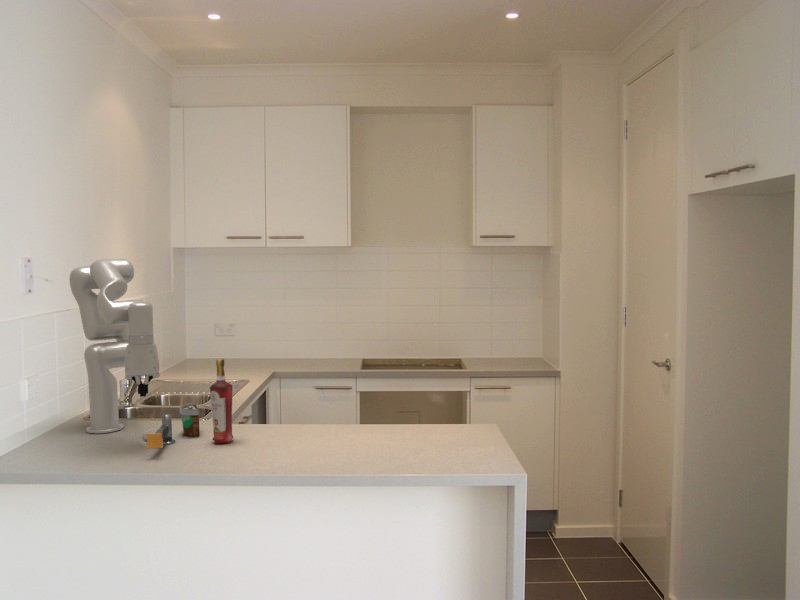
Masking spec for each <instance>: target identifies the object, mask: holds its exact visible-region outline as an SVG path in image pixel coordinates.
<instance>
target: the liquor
mask: <svg viewBox="0 0 800 600" xmlns="http://www.w3.org/2000/svg"><path fill="white" fill-rule="evenodd" d="M215 364H216V382H214V383H212V384H211V385H210V386H209V396H210V404H211V405H210V407H211V416H212V428H213V437H212V441H213V442H215V443H216V444H218V445H225V444H229V443H231V441H232V440H233V439H234V435H233V385H232V384H231V383H230V382H227V381H226V375H225V358H216V359H215Z"/></svg>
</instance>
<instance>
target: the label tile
mask: <svg viewBox="0 0 800 600" xmlns="http://www.w3.org/2000/svg"><path fill="white" fill-rule="evenodd" d="M152 433H153V432H151V433H149V432H148V433H143V434H142V439H143V441H144V442H145V443H147V434H152Z"/></svg>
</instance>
